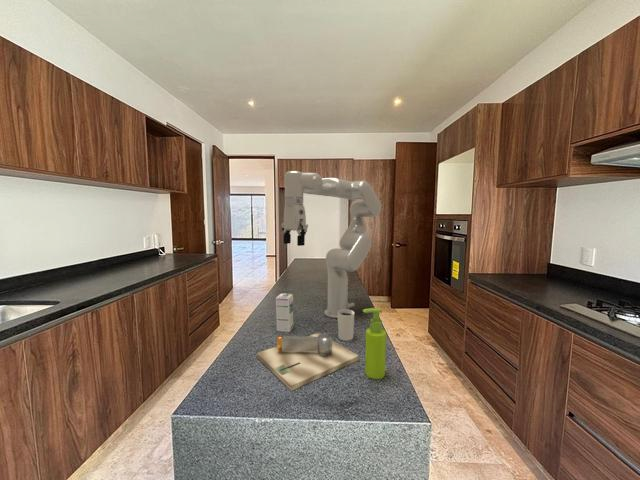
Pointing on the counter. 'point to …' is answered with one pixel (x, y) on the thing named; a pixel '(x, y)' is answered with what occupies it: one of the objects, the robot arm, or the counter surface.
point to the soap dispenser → (375, 346)
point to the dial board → (305, 363)
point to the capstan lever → (306, 344)
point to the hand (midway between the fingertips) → (293, 244)
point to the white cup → (345, 324)
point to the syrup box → (284, 312)
